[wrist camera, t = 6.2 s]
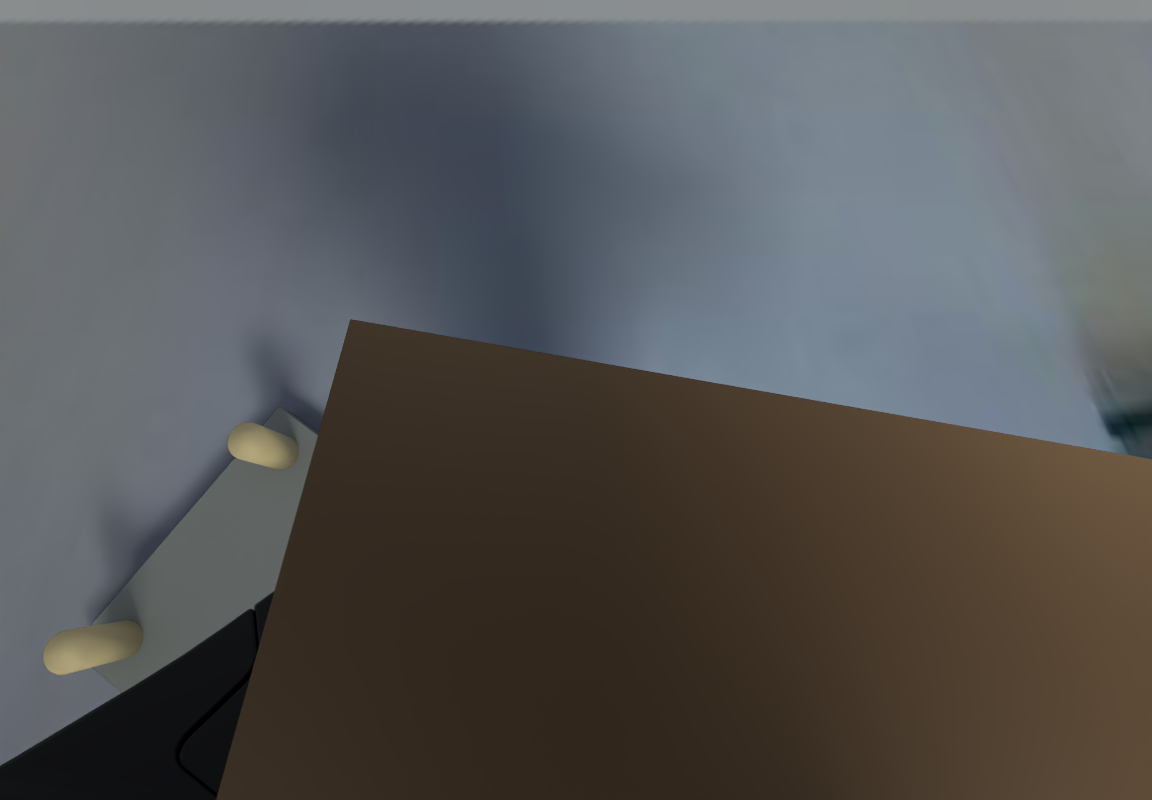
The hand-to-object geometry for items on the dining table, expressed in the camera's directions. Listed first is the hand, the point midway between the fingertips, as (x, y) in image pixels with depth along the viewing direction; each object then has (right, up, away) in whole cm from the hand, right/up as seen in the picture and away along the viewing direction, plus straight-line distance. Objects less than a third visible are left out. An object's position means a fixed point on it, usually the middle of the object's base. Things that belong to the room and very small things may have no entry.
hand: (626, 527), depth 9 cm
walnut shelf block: (0, -3, +6) cm, 7 cm away
